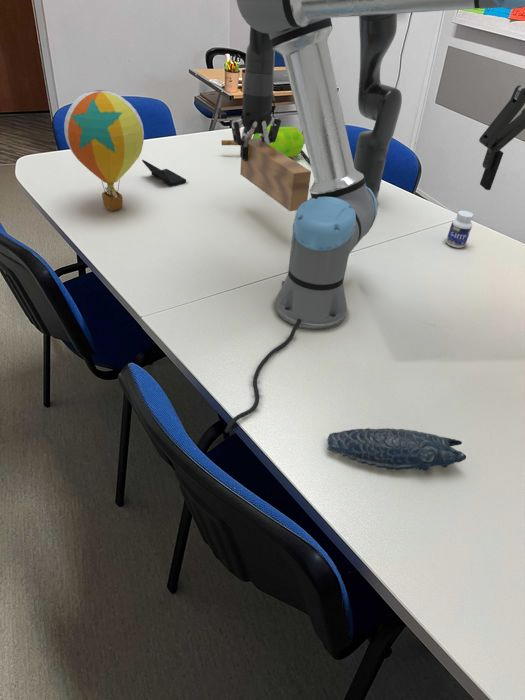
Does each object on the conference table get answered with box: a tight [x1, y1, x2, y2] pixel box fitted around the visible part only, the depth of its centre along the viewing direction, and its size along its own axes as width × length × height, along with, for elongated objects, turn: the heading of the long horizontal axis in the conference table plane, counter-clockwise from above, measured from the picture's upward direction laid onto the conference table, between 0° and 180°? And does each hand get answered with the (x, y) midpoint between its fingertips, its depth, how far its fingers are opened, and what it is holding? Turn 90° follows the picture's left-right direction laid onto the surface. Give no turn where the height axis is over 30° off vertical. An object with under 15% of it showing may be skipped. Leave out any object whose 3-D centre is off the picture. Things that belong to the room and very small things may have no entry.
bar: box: [240, 138, 312, 212], centre depth 134 cm, size 26×5×9 cm, turn 30°
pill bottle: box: [445, 210, 474, 249], centre depth 141 cm, size 5×5×9 cm
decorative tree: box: [221, 124, 305, 158], centre depth 185 cm, size 18×10×30 cm
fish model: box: [326, 427, 467, 471], centre depth 80 cm, size 7×21×5 cm, turn 84°
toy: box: [63, 89, 145, 212], centre depth 136 cm, size 20×20×30 cm
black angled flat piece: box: [141, 159, 187, 187], centre depth 162 cm, size 12×7×10 cm
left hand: (519, 188), depth 94 cm, fingers open, 13 cm apart
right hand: (253, 159), depth 141 cm, fingers closed on bar, 5 cm apart
